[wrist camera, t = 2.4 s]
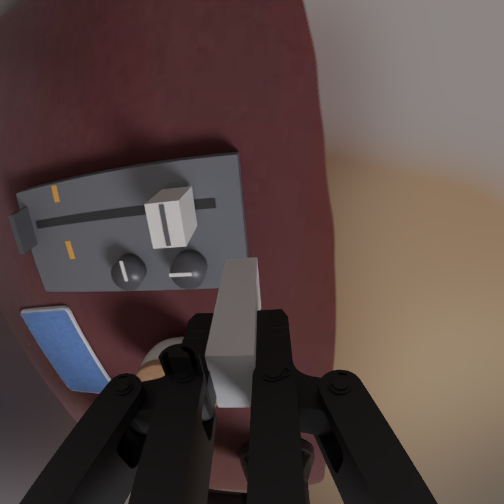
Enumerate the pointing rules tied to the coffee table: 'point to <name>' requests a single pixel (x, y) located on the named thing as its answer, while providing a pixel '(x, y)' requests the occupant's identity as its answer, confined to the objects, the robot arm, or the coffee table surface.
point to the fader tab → (171, 217)
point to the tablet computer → (66, 348)
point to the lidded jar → (155, 360)
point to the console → (132, 227)
